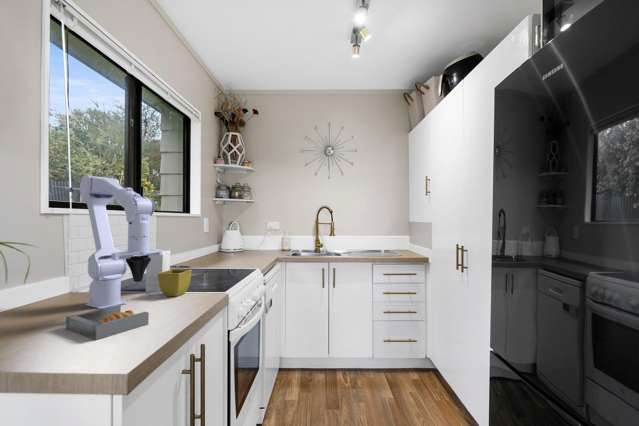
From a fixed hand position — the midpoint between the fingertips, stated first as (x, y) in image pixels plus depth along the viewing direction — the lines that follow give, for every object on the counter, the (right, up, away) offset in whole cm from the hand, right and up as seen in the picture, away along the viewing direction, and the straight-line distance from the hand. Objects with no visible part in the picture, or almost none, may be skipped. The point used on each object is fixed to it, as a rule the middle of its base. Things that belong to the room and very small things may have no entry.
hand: (137, 281), depth 94 cm
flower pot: (+1, -11, +22) cm, 25 cm away
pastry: (+1, -10, -12) cm, 15 cm away
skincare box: (-10, -11, +30) cm, 34 cm away
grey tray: (-1, -10, -11) cm, 15 cm away
